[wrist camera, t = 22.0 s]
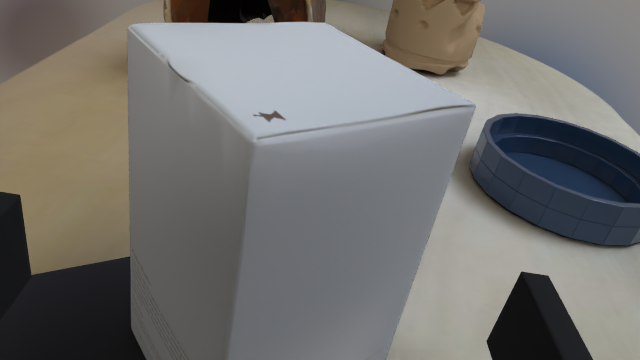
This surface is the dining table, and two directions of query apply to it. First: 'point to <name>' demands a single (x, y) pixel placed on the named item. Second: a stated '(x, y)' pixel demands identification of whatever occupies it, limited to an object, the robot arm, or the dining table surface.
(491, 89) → the dining table surface
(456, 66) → the container
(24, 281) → the robot arm
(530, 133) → the bowl
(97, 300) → the mat
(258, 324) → the rectangular carton
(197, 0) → the clay pot
